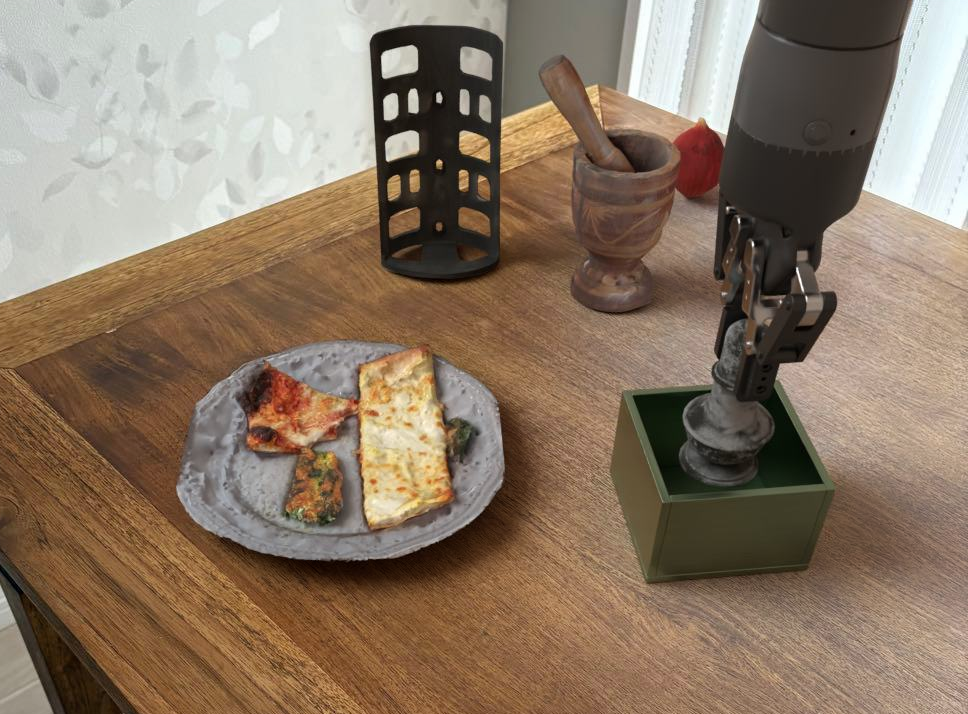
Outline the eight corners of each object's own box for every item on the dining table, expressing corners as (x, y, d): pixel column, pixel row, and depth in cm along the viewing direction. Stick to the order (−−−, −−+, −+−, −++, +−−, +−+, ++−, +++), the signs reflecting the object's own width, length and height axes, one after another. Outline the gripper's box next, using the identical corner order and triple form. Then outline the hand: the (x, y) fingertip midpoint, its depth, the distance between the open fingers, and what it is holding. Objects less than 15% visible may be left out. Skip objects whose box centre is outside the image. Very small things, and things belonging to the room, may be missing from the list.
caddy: (756, 460, 83) (779, 379, 78) (807, 570, 75) (836, 489, 70) (609, 471, 82) (622, 390, 77) (645, 583, 75) (662, 502, 69)
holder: (383, 286, 99) (375, 51, 86) (373, 249, 104) (364, 22, 91) (505, 277, 100) (515, 43, 87) (488, 240, 106) (496, 16, 93)
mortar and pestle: (533, 321, 95) (551, 93, 81) (521, 266, 101) (535, 44, 87) (666, 316, 96) (707, 88, 82) (646, 261, 102) (681, 40, 88)
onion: (730, 196, 110) (747, 118, 104) (697, 218, 107) (713, 140, 101) (681, 176, 113) (695, 99, 107) (648, 197, 110) (660, 119, 104)
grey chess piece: (781, 468, 74) (827, 319, 66) (717, 503, 72) (756, 353, 63) (718, 421, 78) (754, 273, 69) (656, 453, 75) (685, 304, 67)
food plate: (210, 359, 92) (204, 323, 89) (492, 357, 92) (493, 321, 89) (164, 585, 75) (154, 549, 72) (510, 582, 75) (513, 546, 72)
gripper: (934, 174, 53) (838, 447, 65) (829, 51, 63) (763, 308, 75) (780, 183, 52) (713, 456, 65) (698, 57, 62) (654, 315, 74)
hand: (740, 375), depth 70 cm, fingers closed on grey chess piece, 3 cm apart
